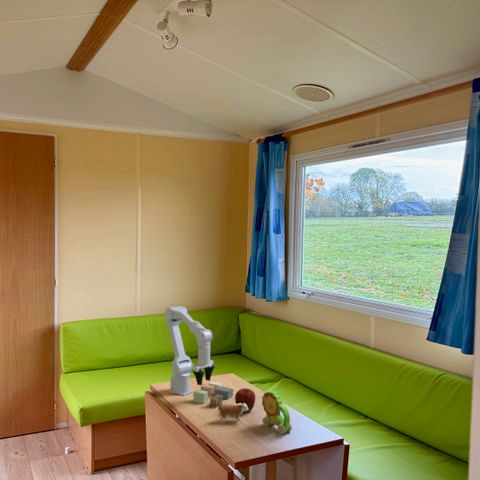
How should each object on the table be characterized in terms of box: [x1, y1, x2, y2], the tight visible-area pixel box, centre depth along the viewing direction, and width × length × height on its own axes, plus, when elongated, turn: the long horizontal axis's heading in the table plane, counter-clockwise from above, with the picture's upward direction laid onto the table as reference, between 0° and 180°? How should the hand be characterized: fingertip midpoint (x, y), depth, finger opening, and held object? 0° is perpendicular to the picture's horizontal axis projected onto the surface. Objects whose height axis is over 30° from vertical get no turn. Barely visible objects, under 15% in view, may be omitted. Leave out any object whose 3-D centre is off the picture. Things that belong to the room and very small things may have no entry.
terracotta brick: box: [200, 384, 214, 397], centre depth 253 cm, size 6×3×4 cm, turn 61°
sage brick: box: [193, 389, 209, 405], centre depth 241 cm, size 6×3×5 cm, turn 62°
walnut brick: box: [209, 395, 224, 409], centre depth 237 cm, size 6×3×4 cm, turn 152°
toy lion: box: [261, 390, 293, 435], centre depth 212 cm, size 16×5×15 cm, turn 37°
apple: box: [234, 387, 256, 413], centre depth 231 cm, size 10×10×10 cm
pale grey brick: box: [208, 381, 223, 389], centre depth 257 cm, size 6×3×4 cm, turn 61°
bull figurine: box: [217, 403, 249, 423], centre depth 219 cm, size 4×13×8 cm, turn 89°
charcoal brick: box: [213, 386, 234, 400], centre depth 249 cm, size 8×5×4 cm, turn 62°
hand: (203, 382), depth 241 cm, fingers open, 7 cm apart
